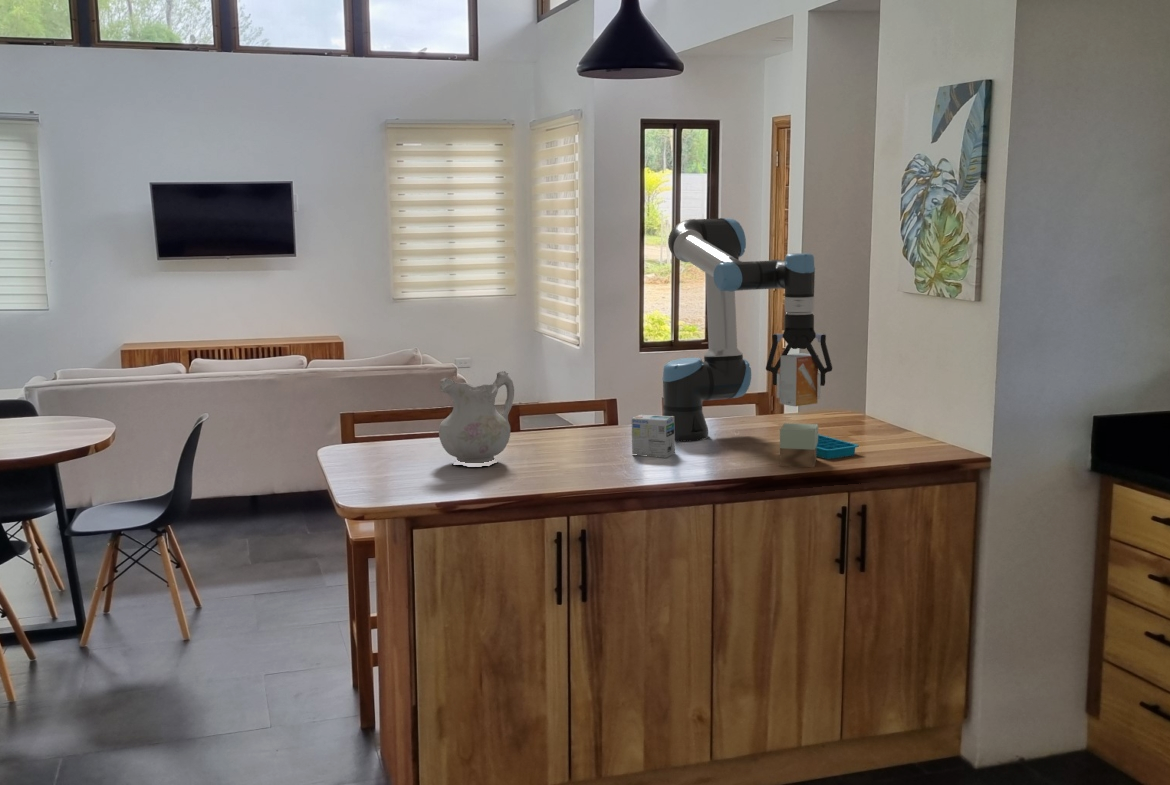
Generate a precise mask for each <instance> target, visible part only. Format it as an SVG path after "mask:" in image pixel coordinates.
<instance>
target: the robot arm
mask: <svg viewBox="0 0 1170 785" xmlns="http://www.w3.org/2000/svg"><path fill="white" fill-rule="evenodd" d="M746 241H747V240H746V234H745V231H744V229H743V226H742V225H741V224H740V222H739V221H737V220H736V219H734V218H726V217H725V218H724V217H723V218H722V217H720V218H699V219H696V218H694V219H692V218H689V219H685V220H683V221H680V222H679V223H677V224H676V225H675V226H674V227H673V228H672V229H671V231H670V233H669V235H668V238H667V245H668V249H669V252H670V253H671V254H672V256H674V257H675V258H676V259H678V260H679V261H681V262H682V263H690V264H692V265H693V266H695V267H696V268H698V269H700V270H701V271H703V272H704V273H705V293H706V314H707V315H706V317H707V319H706V320H707V335H708V336H707V337H708V341H707V342H708V350H707V351H706V353H705V354H703V357H704V358H703V359H704V360H702V358H700V357H694V356H693V357H684V358H683V357H681V358H678V359H673V360H671V361H668V362H667V363H665V364H664V366H663V369H662V370H663V372H662V385H663V386H662V392H663V393H662V395H663V403H662V404H663V411H662V412H663V413H662V415H661V416H674V425H675V442H694V441H695V442H696V441H702V440H703V441H704V440H705V439H708V438H709V427H708V425H707V421H706V418H705V416H704V412H703V402H705V401H706V402H707V401H715V400H732V399H736V398H737V399H738V398H741V397H743V396H744V395H746V394H747V392H748V391H749V389H750V386H751V382H752V368H751V367H750V366H751V365H750V363H749V361H748V360H747V359H745V358H744V356H743V352H742V351H740V350H739V348H738V336H737V333H738V332H737V329H738V328H737V311H736V310H737V309H736V292H737V291H753V290H772V289H775V290H777V289H778V290H779V289H781V290H782V289H783V290H784V312H786V314H784V331H783V333H773V334H772V345H771V349H770V352H769V356H768V358H767V362H766V365H765V370H766V371H767V372H771V373H772V385H773V386H776V399H780V366H781V357H780V356H786V355H789V352H790V350H791V349H792V350H797V349H801V350H807V352H808V354H810V355H811V357H812V358H813V360H814V362H815V364H816V365H817V367H818V375H817V399H818V400H821V396H822V394H821V392H822V387H824V386H825V385H826V374H827V373H830V372H832V371H833V365H832V361H831V357H830V354H829V350H828V347H827V342H826V340H827V334H826V333H816V331H815V315H814V314H813V312H814V311H815V281H816V280H815V274H816V273H815V272H816V267H815V257H814V255H813V254H812V253H805V252H802V253H787V254H786V255H785V258H784V260H781V259H779V258H778V259H769V260H759V261H757V260H755V261H753V260H752V261H741V260H739V259H740V258H741V257H743V255H744V254H745V251H746V247H747V246H746V245H747V242H746ZM782 339H783V340H784V341H785V343H786V344H787V345H786V347H785V348H784V350H783V351H782V353H781V355H780V356H779V359H778V360H777V362H776V364H775V366H773V363H774V358H775V355H776V352H777V348H778V344H779V343H781V340H782ZM815 339H816V340H817V342H818V343H820V347H821V351H822V355H823V359H824V363H825V365H826V367H825V366H824V365H823V363H822V361H821V359H820V358H819V355H818V354H817V352H816V351H815V348H814V347H813V344H812V343H813V341H814V340H815ZM817 355H818V356H817Z"/></svg>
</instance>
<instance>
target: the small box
mask: <svg viewBox="0 0 1170 785" xmlns="http://www.w3.org/2000/svg"><path fill="white" fill-rule="evenodd" d="M817 356H818V357H819V355H818V354H817ZM780 357H781V366H780V368H779V372H780V398H779V404H780V405H785V406H789V407H800V406H808V405H816V404H818V400H819V399H817V375H818V373H819V369H818V367H817V365H816V364H815V362H814V360H813V358H812V357H811V355H810V353H804V352H799V353H791V354H789V353H788V354H787V355H786V356H781V355H780V356H779V358H780Z"/></svg>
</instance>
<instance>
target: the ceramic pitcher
mask: <svg viewBox="0 0 1170 785" xmlns="http://www.w3.org/2000/svg"><path fill="white" fill-rule="evenodd" d="M508 374H509V373H507V371H506V370H505V371H498V372H497V373H496V379H495V380H494V382H492V384H489V383H488V384H481V385H477V386H474V385H471V384H469V383H467V382H464V381H463V382H455V381H454V380H452V379H450V378H447V377H444V378H442V379H440V384H439V390H440V392H442V393H445V394H447V395H448V396H449V397H450V398H451V400H452V405H453V407H452V412H450V413H449V415H448V416H447V417H445V418H444V419H443V420H442V421H441V423H440V424H439V427H438V437H439V441H440V445H441V446H442V448H443V449H444V450H445V452H446V453H447V454H449V455H450V456H452V457H454V458H456V459H457V460H458V461H460V462H465V463H484V462H489V461H492V460H494V459H495V456H498V455H499V454H501V453H502V452H504V450H505V448H506V447H507V445H508V444H509V441H510V438H511V437H510V436H511V425H510V423H509V413H510V411H511V409H512V407H513V401H514V398H515V386H514V382H513V380H512V378H511V377H510V376H509V375H508ZM503 386H505V387H506V399H505V402H504V404H503V405H504V406H503V408H502V409H503V410H502V414H500V413H499V412H498V410H497V409H496V406H495V405H496V404H495V403H496V397H497V394H498V392H499V389H500V388H501V387H503Z"/></svg>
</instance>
